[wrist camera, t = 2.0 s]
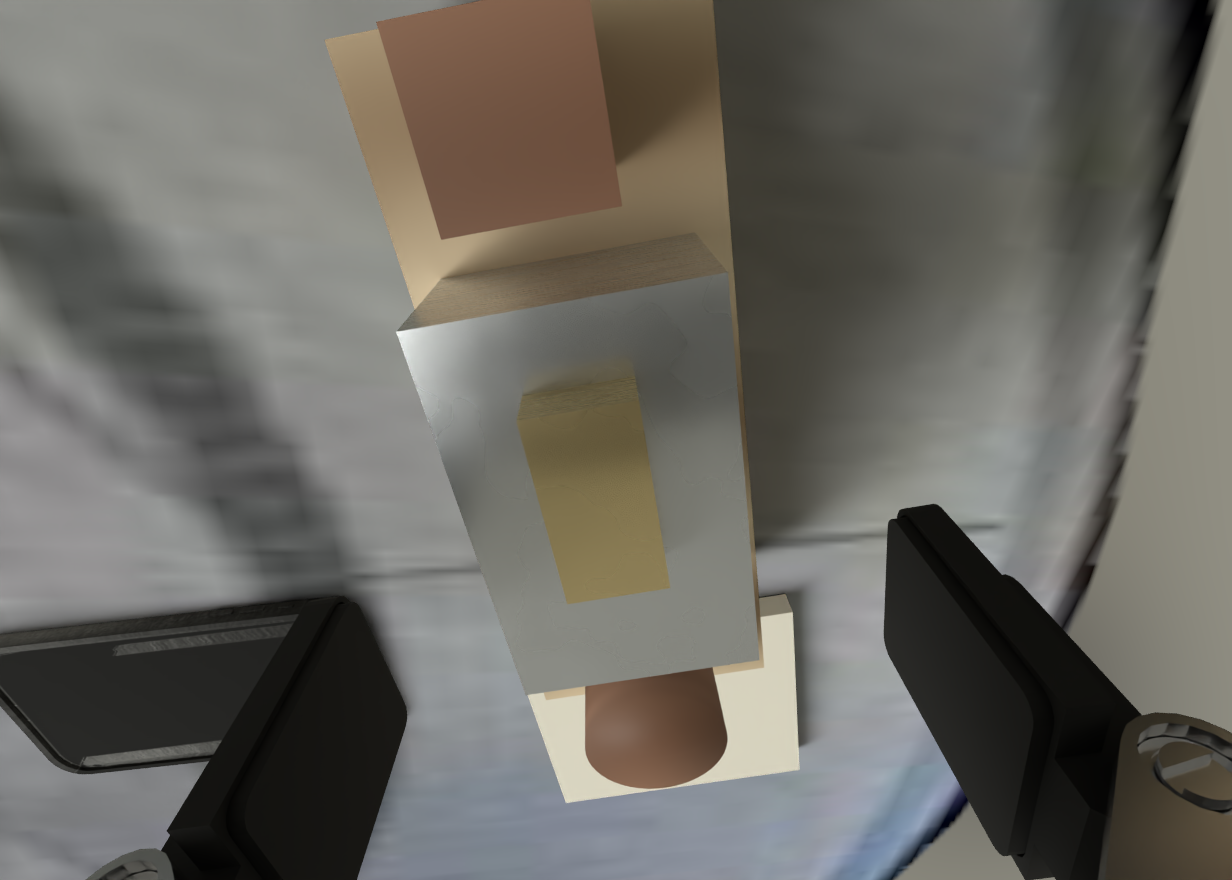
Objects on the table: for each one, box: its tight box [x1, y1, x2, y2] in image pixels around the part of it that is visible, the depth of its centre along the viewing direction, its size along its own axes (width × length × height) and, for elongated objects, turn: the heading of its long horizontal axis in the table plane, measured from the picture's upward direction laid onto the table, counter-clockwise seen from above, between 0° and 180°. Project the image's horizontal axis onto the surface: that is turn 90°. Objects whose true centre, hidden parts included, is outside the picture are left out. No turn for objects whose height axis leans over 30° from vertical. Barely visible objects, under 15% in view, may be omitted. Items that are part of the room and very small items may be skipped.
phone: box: [0, 598, 323, 774], centre depth 26 cm, size 8×1×15 cm
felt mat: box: [528, 594, 799, 803], centre depth 27 cm, size 10×11×1 cm
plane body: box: [325, 0, 764, 789], centre depth 15 cm, size 18×7×10 cm, turn 10°
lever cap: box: [396, 233, 760, 695], centre depth 13 cm, size 9×6×4 cm, turn 10°
